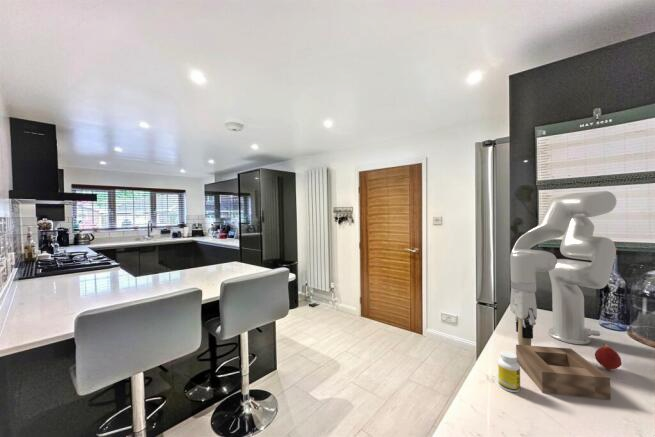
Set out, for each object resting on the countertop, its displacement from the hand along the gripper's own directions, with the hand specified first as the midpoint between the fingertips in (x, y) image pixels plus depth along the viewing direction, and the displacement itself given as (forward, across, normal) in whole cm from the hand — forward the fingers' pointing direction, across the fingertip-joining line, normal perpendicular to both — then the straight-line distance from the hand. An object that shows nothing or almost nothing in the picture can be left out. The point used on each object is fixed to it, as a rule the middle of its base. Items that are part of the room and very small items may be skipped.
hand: (524, 334), depth 97 cm
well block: (+6, +16, +2) cm, 17 cm away
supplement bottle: (+6, +23, -14) cm, 28 cm away
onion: (+6, +8, +20) cm, 22 cm away
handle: (+6, 0, 0) cm, 6 cm away
